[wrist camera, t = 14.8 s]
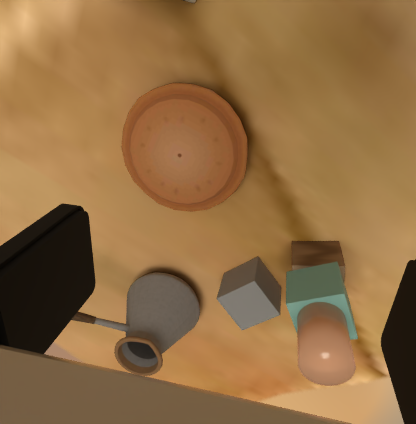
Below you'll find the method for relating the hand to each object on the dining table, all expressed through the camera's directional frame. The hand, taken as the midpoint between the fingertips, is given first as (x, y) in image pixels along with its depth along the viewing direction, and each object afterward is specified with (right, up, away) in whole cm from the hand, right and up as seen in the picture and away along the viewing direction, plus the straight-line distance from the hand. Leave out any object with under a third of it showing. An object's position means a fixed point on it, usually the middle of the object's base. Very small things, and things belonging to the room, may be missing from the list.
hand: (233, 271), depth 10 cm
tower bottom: (+14, -5, +38) cm, 41 cm away
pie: (-3, +10, +35) cm, 37 cm away
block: (+6, -8, +41) cm, 43 cm away
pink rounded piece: (+11, -10, +27) cm, 31 cm away
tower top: (+13, -7, +33) cm, 36 cm away
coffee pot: (-11, -9, +45) cm, 48 cm away
